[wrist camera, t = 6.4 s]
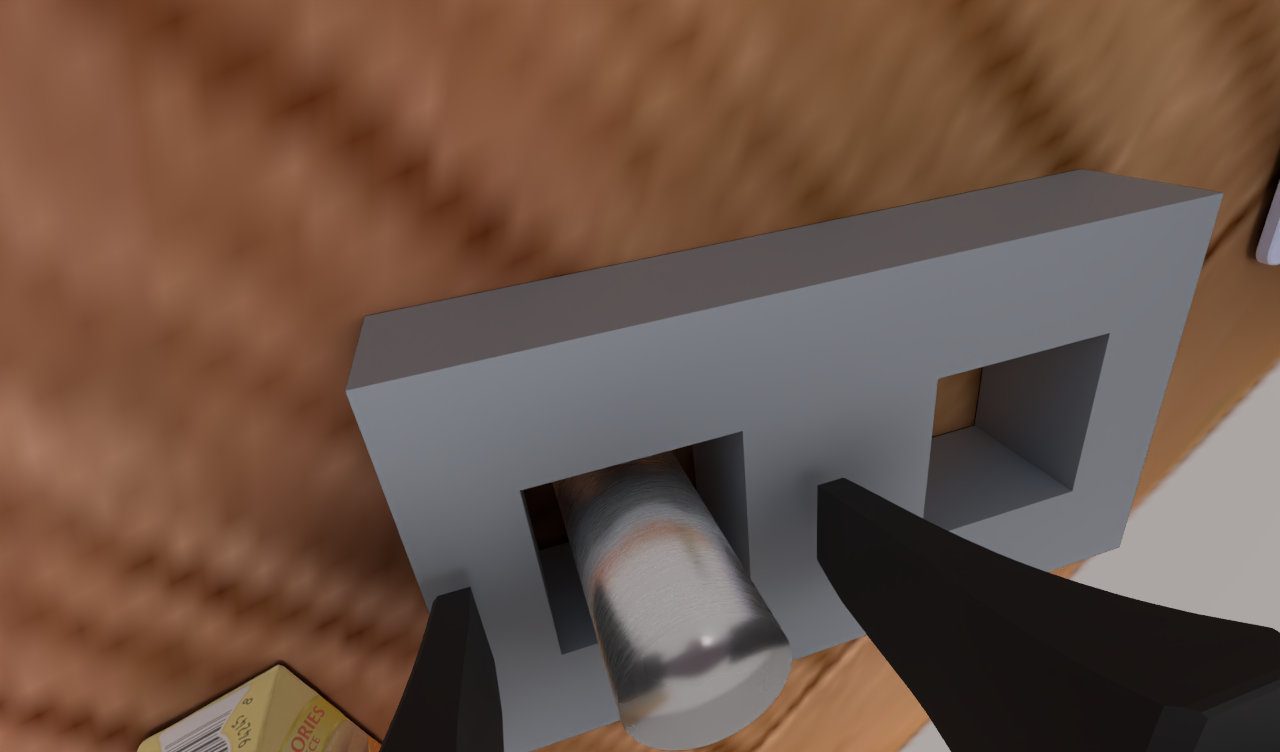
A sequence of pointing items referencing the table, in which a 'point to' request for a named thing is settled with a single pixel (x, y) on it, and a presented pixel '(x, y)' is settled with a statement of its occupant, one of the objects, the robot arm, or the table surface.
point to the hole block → (786, 403)
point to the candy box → (265, 722)
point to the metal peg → (670, 605)
